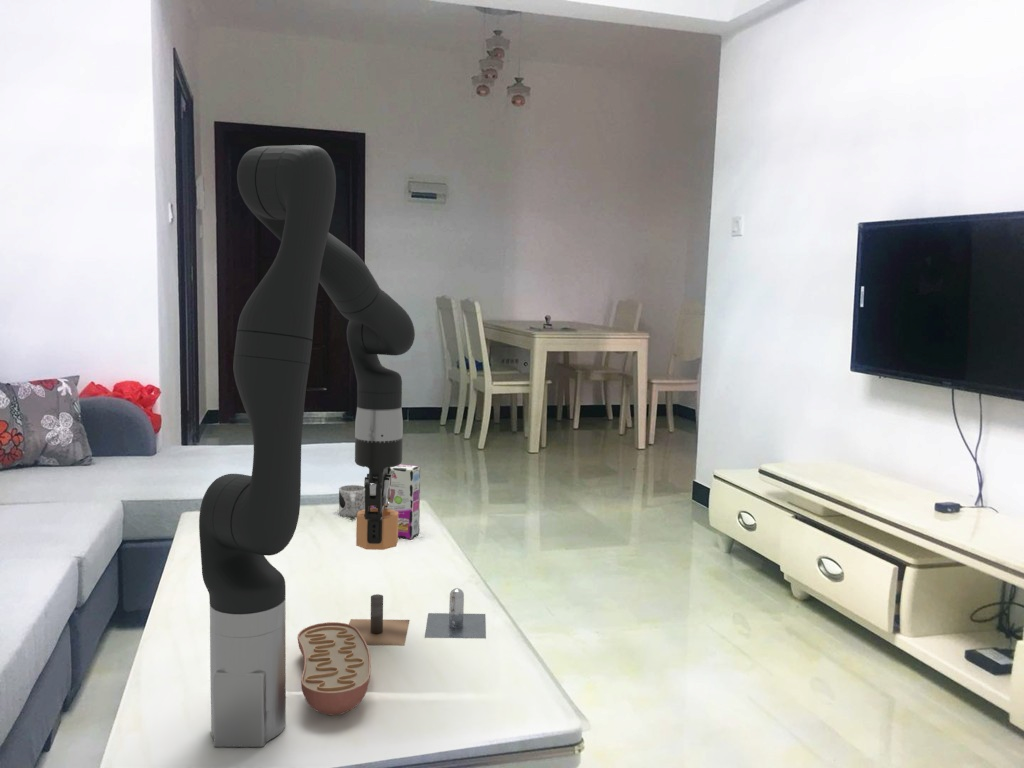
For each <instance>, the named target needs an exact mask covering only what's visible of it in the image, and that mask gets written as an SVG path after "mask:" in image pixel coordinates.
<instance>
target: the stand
mask: <svg viewBox="0 0 1024 768" xmlns="http://www.w3.org/2000/svg"><path fill="white" fill-rule="evenodd" d="M410 621H411V620H410V619H384V595H383V594H378V593H377V594H372V595H371V596H370V619H363V618H362V619H361V618H359V619H358V618H350V620H349V623H348V624H349V625H352V626H354V627H356V628H357V629H358V631H359V632H360V634H361V635H362V637H363V638H364V640H365V642H366V644H367V646H399V647H400V646H401V647H402V646H405V645H406V640H407V639H406V638H407V634H408V630H409V624H410Z"/></svg>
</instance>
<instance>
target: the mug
mask: <svg viewBox="0 0 1024 768" xmlns="http://www.w3.org/2000/svg"><path fill="white" fill-rule="evenodd" d="M364 501H365V488H364V486H363V485H359V484H358V485H357V484H350V485H349V484H348V485H343V486H340V487H339V488H338V515H339V516H341V517H344V518H357V514H358V512H359V511H361V510H365V502H364Z"/></svg>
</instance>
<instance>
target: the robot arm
mask: <svg viewBox="0 0 1024 768" xmlns="http://www.w3.org/2000/svg"><path fill="white" fill-rule="evenodd" d="M236 173H237V174H236V180H237V181H236V182H237V187H238V191H239V194H240V196H241V198H242V200H243V202H244V204H245V205H246V207H247V209H249V211H250V212H251V213H252V214H253V216H255V217H256V219H258V221H260V222H261V223H262V224H263V225H264V226H265V227H266V228H267V229H268V230H269V231H270V232H271V233H272V234H273V235H274V236H275V237H276V238H277V239H278V240H279V241H280V245H279V249H278V252H277V253H276V257H275V258H274V260H273V262H272V264H271V266H270V267H269V268H268V270H267V272H266V273H265V274H264V276H263V278H262V279H261V280H260V282H259V283H258V285H257V286H256V287H255V288H254V290H253V292H252V294H251V295H250V297H249V298H248V299H247V301H246V303H245V305H244V306H243V308H242V310H241V313H240V315H239V319H238V323H237V329H236V335H235V336H236V337H235V345H234V353H233V362H232V363H233V369H232V370H233V376H234V381H235V386H236V387H237V391H238V394H239V398H240V400H241V403H242V405H243V409H244V410H245V413H246V416H247V419H248V421H249V425H250V428H251V433H252V441H253V457H252V458H253V460H252V469H251V470H252V471H251V475H248V474H244V473H243V474H242V473H226V474H223V475H221V476H219V477H217V478H216V479H214V481H212V482H211V483H210V485H209V486H208V487H207V488H206V491H205V493H204V495H203V498H202V500H201V504H200V507H199V517H198V533H199V546H200V562H201V575H202V576H201V577H202V579H203V583H204V585H205V588H206V589H207V592H208V596H209V654H210V655H209V658H210V659H209V660H210V663H209V665H210V666H209V667H210V676H209V677H210V680H209V681H210V734H211V737H212V739H213V746H214V747H239V748H241V747H256V748H258V747H259V748H260V747H264V746H265V745H266V744H267V742H268V741H271V740H272V739H274V738H276V737H277V736H278V735H279V734H281V733H282V732H283V731H284V729H285V727H286V723H287V722H286V721H287V720H286V718H287V717H286V716H287V715H286V713H287V712H286V711H287V709H286V705H287V701H286V699H287V697H286V696H287V694H286V691H287V689H286V686H287V684H286V681H287V680H286V674H287V673H286V671H287V670H286V665H287V663H286V649H287V648H286V617H287V615H286V610H287V609H286V608H287V606H286V604H287V603H286V580H285V577H284V574H282V573H281V572H280V571H279V569H277V568H276V567H275V566H273V565H272V564H271V562H270V561H269V560H268V559H267V558H266V556H274V555H275V556H276V555H278V554H280V552H282V551H284V550H285V549H286V547H287V546H288V545H289V544H290V542H291V540H292V539H293V537H294V534H295V532H296V529H297V527H298V523H299V518H300V517H299V516H300V511H301V510H300V508H301V491H302V489H301V487H302V486H301V485H302V484H301V482H302V480H301V479H302V439H303V426H304V417H305V416H304V413H305V403H306V391H307V384H308V376H309V372H310V364H311V358H312V357H311V356H312V348H313V347H312V346H313V337H314V324H315V312H316V305H317V298H318V290H319V284H320V285H321V287H322V288H323V290H324V292H325V293H326V295H327V296H328V297H329V299H330V300H331V301H332V303H333V304H334V305H335V307H336V309H337V310H338V311H339V313H340V314H341V315H342V316H343V318H345V319H346V320H348V323H347V328H346V341H347V346H348V349H349V353H350V357H351V360H352V365H353V369H354V373H355V378H356V382H357V387H356V389H357V396H356V399H357V401H356V403H357V405H356V406H357V407H356V414H355V422H354V423H355V425H354V427H355V428H354V430H355V431H354V462H355V464H356V465H358V466H359V467H363V468H368V473H366V476H365V477H364V480H363V481H364V484H363V485H364V488H365V501H364V502H365V514H364V517H365V519H367V520H368V532H367V541H368V543H370V544H379V543H381V541H382V520H383V517H384V515H383V508H385V507H386V508H388V505H389V502H388V501H389V499H390V494H391V481H392V474H390V471H391V468H390V467H395V466H398V465H400V464H401V465H402V462H403V429H404V428H403V427H404V419H403V410H402V402H403V401H402V399H403V395H402V394H403V392H402V391H403V381H402V379H403V378H402V376H401V374H400V373H399V372H397V371H395V370H393V369H390V368H387V367H385V366H383V365H382V363H381V362H380V358H379V356H378V355H384V356H401V355H404V354H406V353H407V352H408V351H409V350H410V349H411V348H412V346H413V344H414V341H415V335H416V333H415V327H414V323H413V321H412V318H411V317H410V315H409V313H408V312H407V311H406V310H405V308H403V307H402V306H401V305H400V304H399V303H398V302H397V301H396V300H395V299H393V298H392V297H391V296H390V295H389V294H388V293H387V292H385V291H384V290H383V289H381V287H380V286H379V284H378V282H377V280H376V279H375V278H374V275H373V274H372V272H371V271H370V269H369V267H368V266H367V264H366V263H365V262H364V260H363V259H362V258H361V257H360V256H359V255H358V254H357V253H356V252H355V251H354V250H353V249H352V248H350V247H349V246H348V245H346V243H344V242H342V241H341V240H340V239H338V238H337V237H336V236H334V235H333V234H332V233H330V227H331V222H332V217H333V213H334V208H335V202H336V201H335V200H336V195H337V194H336V192H337V191H336V190H337V177H336V176H337V175H336V169H335V165H334V162H333V160H332V158H331V156H330V155H329V153H328V152H327V151H326V150H325V149H324V148H322V147H320V146H317V145H313V144H312V145H311V144H308V145H307V144H300V145H299V144H294V145H293V144H292V145H291V144H290V145H264V146H257V147H254V148H251V149H249V150H248V151H247V152H245V153H244V154H243V155H242V157H241V158H240V160H239V163H238V166H237V171H236ZM372 506H373V507H376V508H378V512H371V507H372Z"/></svg>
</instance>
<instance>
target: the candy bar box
mask: <svg viewBox="0 0 1024 768" xmlns="http://www.w3.org/2000/svg"><path fill="white" fill-rule="evenodd" d="M390 468H391V471H390V474H392V481H391V494H390V499H389V501H388V502H389V505H388V509H391V510H395V511H398V539H406V540H407V539H409V540H412V539H413V538H415V537H416V536H418V535H419V534H420V518H421V517H420V515H421V514H420V511H421V510H420V509H421V508H420V505H421V503H420V500H421V498H420V495H421V494H420V493H421V491H420V490H421V466H420V465H409V464H402V463H401V464H400V465H398V466H395V467H390ZM371 508H376V507H373V506H372V507H371ZM385 508H386V507H385Z"/></svg>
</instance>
